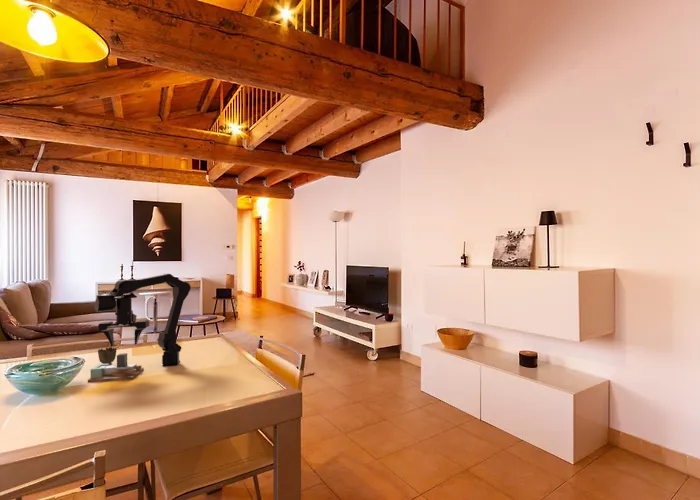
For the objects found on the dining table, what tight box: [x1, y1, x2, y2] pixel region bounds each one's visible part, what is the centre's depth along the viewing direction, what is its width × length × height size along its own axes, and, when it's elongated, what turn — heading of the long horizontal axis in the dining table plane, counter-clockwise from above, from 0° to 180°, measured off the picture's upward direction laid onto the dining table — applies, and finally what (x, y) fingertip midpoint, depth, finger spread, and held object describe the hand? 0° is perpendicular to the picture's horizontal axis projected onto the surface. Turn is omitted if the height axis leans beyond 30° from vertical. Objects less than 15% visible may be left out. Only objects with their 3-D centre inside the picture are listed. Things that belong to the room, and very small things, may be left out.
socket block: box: [90, 363, 109, 378], centre depth 159 cm, size 4×8×4 cm, turn 11°
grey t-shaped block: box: [99, 352, 137, 375], centre depth 160 cm, size 14×4×8 cm, turn 101°
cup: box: [97, 346, 118, 366], centre depth 175 cm, size 8×7×8 cm
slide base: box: [87, 364, 145, 383], centre depth 160 cm, size 17×13×3 cm
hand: (124, 344), depth 162 cm, fingers open, 9 cm apart
